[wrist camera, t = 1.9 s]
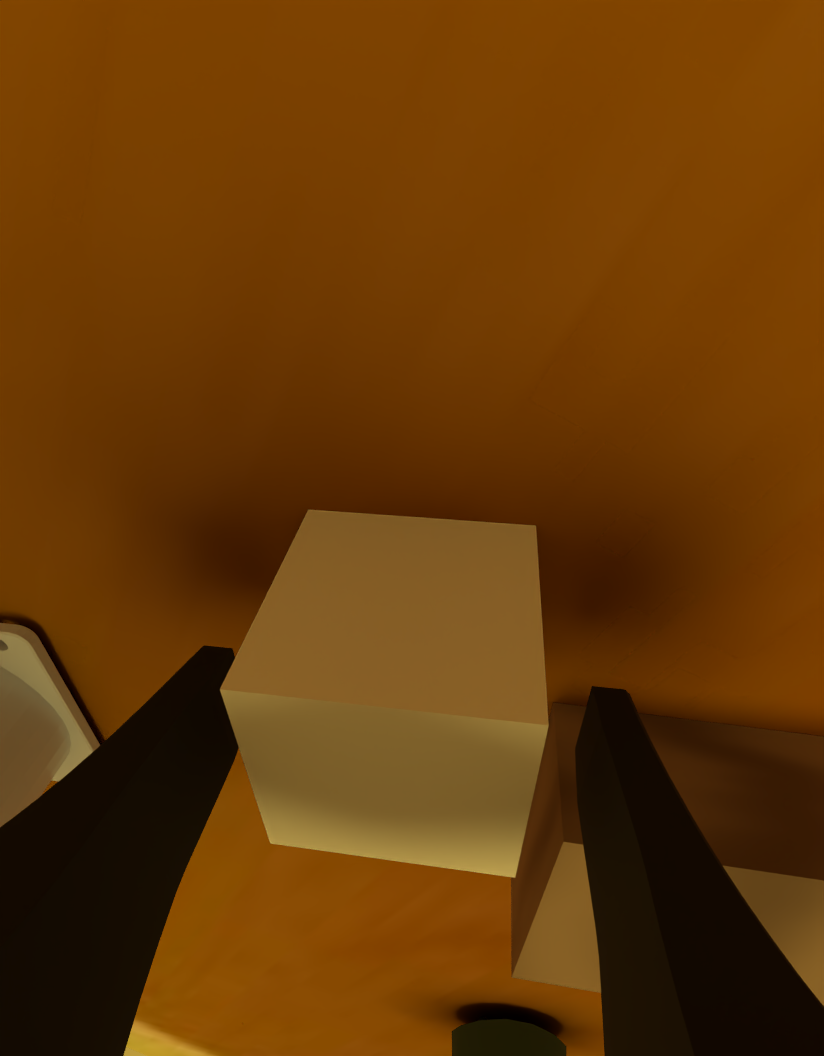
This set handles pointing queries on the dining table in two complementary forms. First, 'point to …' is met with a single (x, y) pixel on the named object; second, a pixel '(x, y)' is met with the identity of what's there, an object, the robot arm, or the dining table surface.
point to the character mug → (504, 1039)
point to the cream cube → (397, 690)
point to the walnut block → (722, 816)
